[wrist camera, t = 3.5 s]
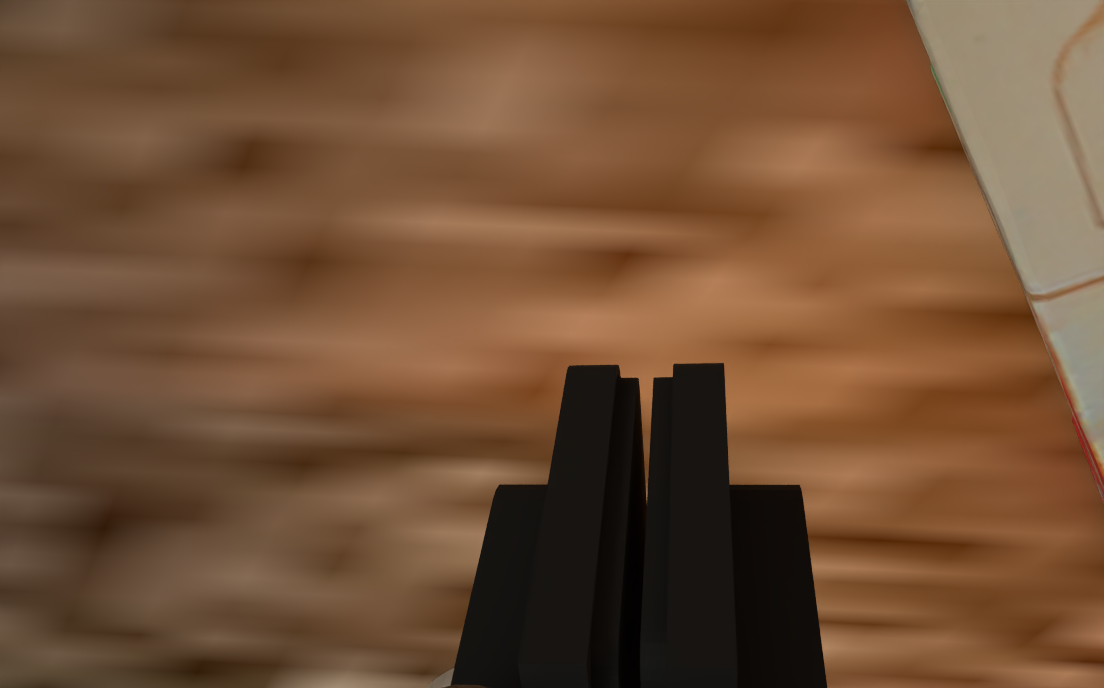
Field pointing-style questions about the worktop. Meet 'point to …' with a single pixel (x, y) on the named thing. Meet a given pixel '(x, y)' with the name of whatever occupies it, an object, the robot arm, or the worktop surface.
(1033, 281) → the stack of blocks
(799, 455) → the worktop surface
